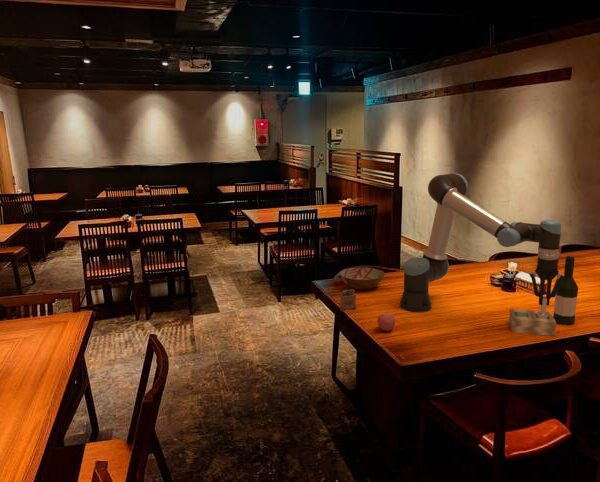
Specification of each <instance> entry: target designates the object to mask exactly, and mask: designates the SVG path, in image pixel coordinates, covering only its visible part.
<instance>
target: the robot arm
mask: <svg viewBox="0 0 600 482" xmlns="http://www.w3.org/2000/svg"><path fill="white" fill-rule="evenodd" d="M468 191H469V184H468V181H467V179H466V177H465V176H463V175H462V174H460V173H446V174H445V173H444V174H439V175H435V176H434V177H432V179H430V181H429V183H428V185H427V192H428V194H429V195H428V196H429V197H430V198H431V199H432V200H433V201H434V202H436V204H437V205H436V209H435V213H434V218H433V222H432V228H431V232H430V237H429V241H428V245H427V249H426V250H424V251H423V253H422V257H413V258H409V259H407V260H406V261H405V263H404V267H403V277H404V278H403V292H402V295H401V297H400V299H399V307H400V309H403V310H405V311H408V312H413V313H423V312H428V311H430V310H432V307H433V306H432V299H431V297H430V293H429V286H430V283H432V282H435V281H437V280H440V279H442V278H444V277H445V276H446V275H448V272H449V268H450V265H449V261H448V255H447V254H446V252H447V247H448V242H449V237H450V234H451V230H452V225H453V220H454V216H455V213H457V214H459V215H461V216H462V217H464V218H465V219H466V220H467V221H470V222H471V223H472V224H474V225H476V226H477V227H479V228H480V229H482V230H483V231H484V232H487V233H488V234H490V235H491V236H493V237H495V238H496V240H497V242H498V243H499V245H500V246H501V247H504V248H511V247H515V246H518V244H522V243H524V242H530V243H531V242H532V243H538V246H539V249H538V248H537V252H538V253H537V260H536V261H537V262H536V269H535V271H532V272H529V273H528V275H529V277H530V278H531V281H532V289H533V293H534V296H535V297H537V298H538V304H539V306H540V311H541V313H543V314H546V312H547V306H550V301H551V299H552V298H555V296H556V293H557V290H558V288H559V285H560V283H561V281H562V280H563V279H564V274H561V273H560V272H559V270H558V267H559V266H558V265H559V263H558V259H557V258H558V257H559V246H561V235H562V223H561V222H560V221H559V220H555V219H542V220H541V221H540V223H539V224H535V223H530V222H529V223H527V222H522V221H518V222H517V221H516V222H514V221H513V222H511V223H509V222H508V221H505V220H504V219H503V218H501V217H499V216H498V215H496V214H495V213H493V212H491V211H489V209H486V208H485V207H483V206H482V205H480V204H478V203H477V202H475V201H473V200H471V199H470V198H469V197H467V196H465V195H466V194H468V193H467V192H468ZM538 257H539V258H538ZM537 276H538V278H539V281H540V282H539V290H538V285H537V284H538V283H537V279H536V277H537ZM554 278H556V279H555V282H554V285H553V288H552V283H553V280H554ZM545 283H546V292H545ZM544 292H545V296H544Z"/></svg>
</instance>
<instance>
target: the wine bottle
mask: <svg viewBox="0 0 600 482" xmlns="http://www.w3.org/2000/svg"><path fill="white" fill-rule="evenodd" d="M574 268H575V256H574V255H570V254H568V255H566V257H565V262H564V270H563V271H564V272H563V276H564V279H563V280H562V281H561V283H560V285H559V288H558V290H557V293H556V296H555V297H554V306H553V315H552V316H553V318H554V320H555V321H556V325H557V324H558V325H560V324H561V326H569V325H570V326H573V325H575V320H576V311H577V304H578V303H577V302H578V301H577V300H578V295H579V286H578V284H577V282H576V280H575V279H574V277H573V276H574Z"/></svg>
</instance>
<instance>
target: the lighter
mask: <svg viewBox="0 0 600 482" xmlns="http://www.w3.org/2000/svg"><path fill="white" fill-rule="evenodd" d="M355 290H356V289H354V288H352V289H349V290H348V289H345V290H342V294H340V295H339V301H340V303H339V304H340V307H339V312H346V311H345V310H352V311H354V310H353V309H356V310H357V306H356V303H357V301H356V300H357V298H356V297H357V294H356V292H355Z"/></svg>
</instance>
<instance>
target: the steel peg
mask: <svg viewBox="0 0 600 482" xmlns="http://www.w3.org/2000/svg"><path fill="white" fill-rule="evenodd" d="M537 311H538V312H537V318H545V319H548V313H547V312H548V311H546V314H543V313H541V310H537Z"/></svg>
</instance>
